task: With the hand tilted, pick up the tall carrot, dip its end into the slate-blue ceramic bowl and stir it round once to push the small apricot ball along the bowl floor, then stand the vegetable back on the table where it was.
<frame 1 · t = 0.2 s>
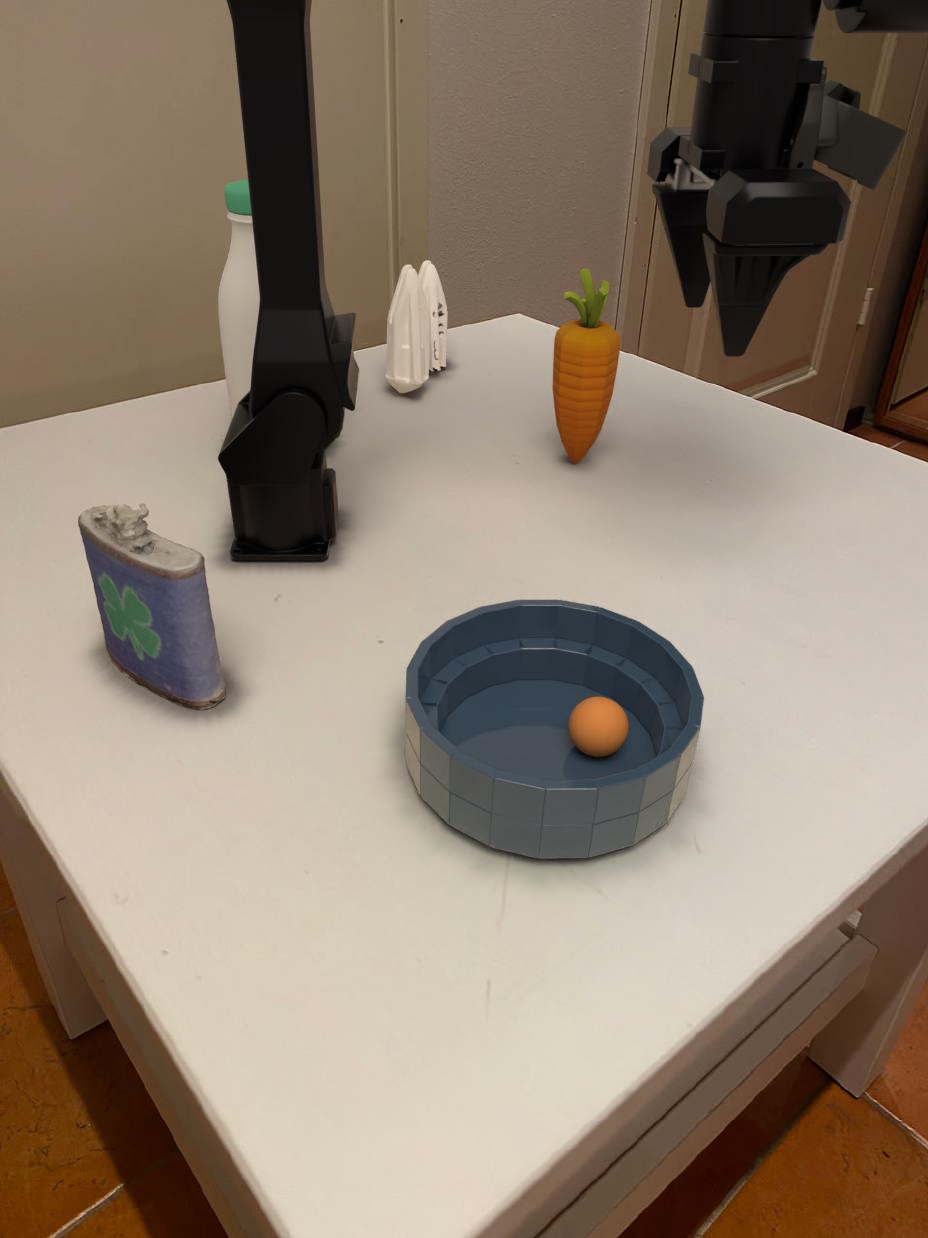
hand: (712, 329, 58), 15 cm above the table, tool pointing down, fingers open, 9 cm apart
carrot: (575, 465, 76), on the table
flask: (163, 675, 53), on the table
shaker set: (416, 381, 90), on the table
milk bottle: (282, 447, 77), on the table
bowl: (545, 757, 48), on the table
ball: (598, 726, 47), point 2 cm above the table, touching bowl
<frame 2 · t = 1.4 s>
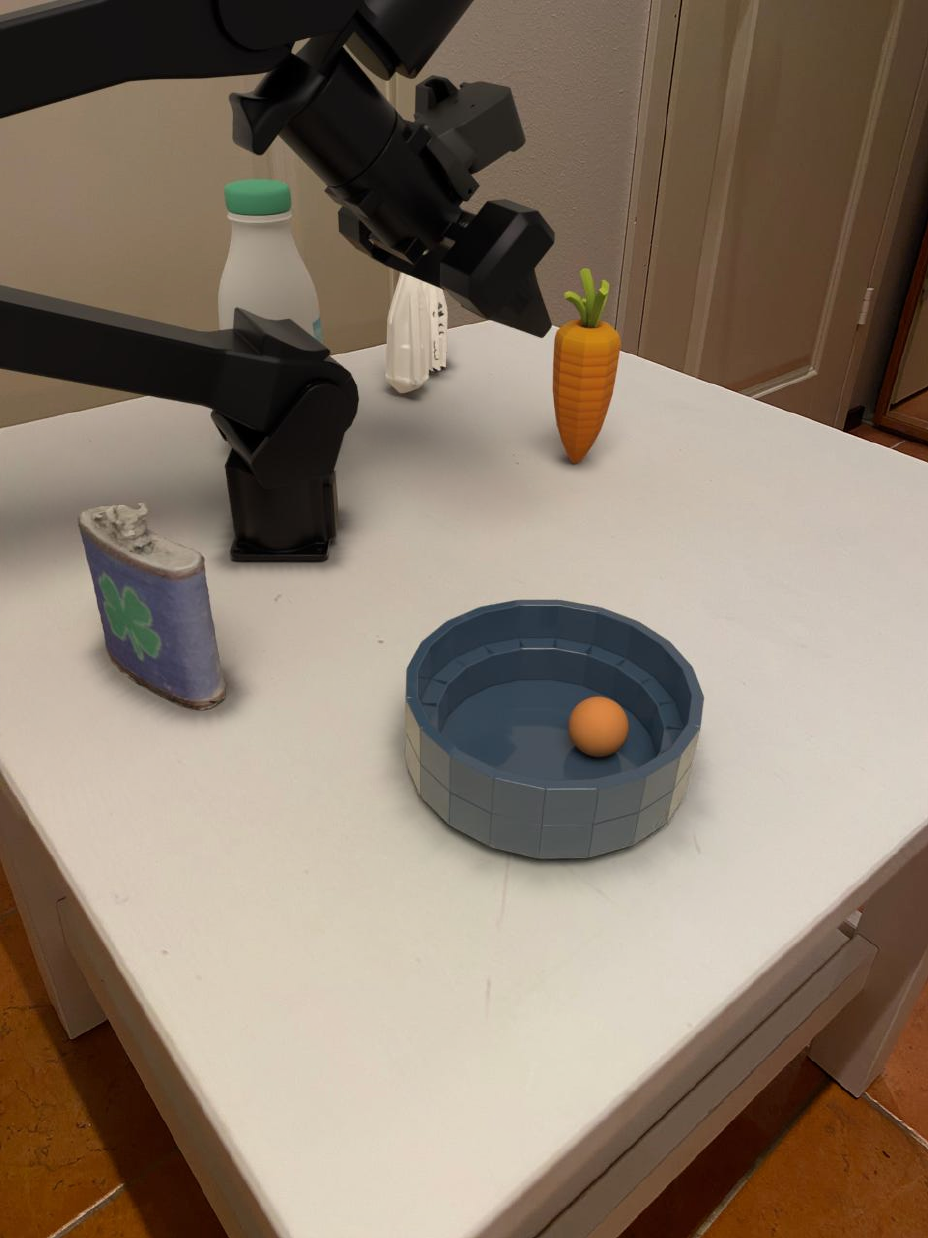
hand: (508, 312, 65), 13 cm above the table, tool tilted 45°, fingers open, 9 cm apart
nothing on the table moved.
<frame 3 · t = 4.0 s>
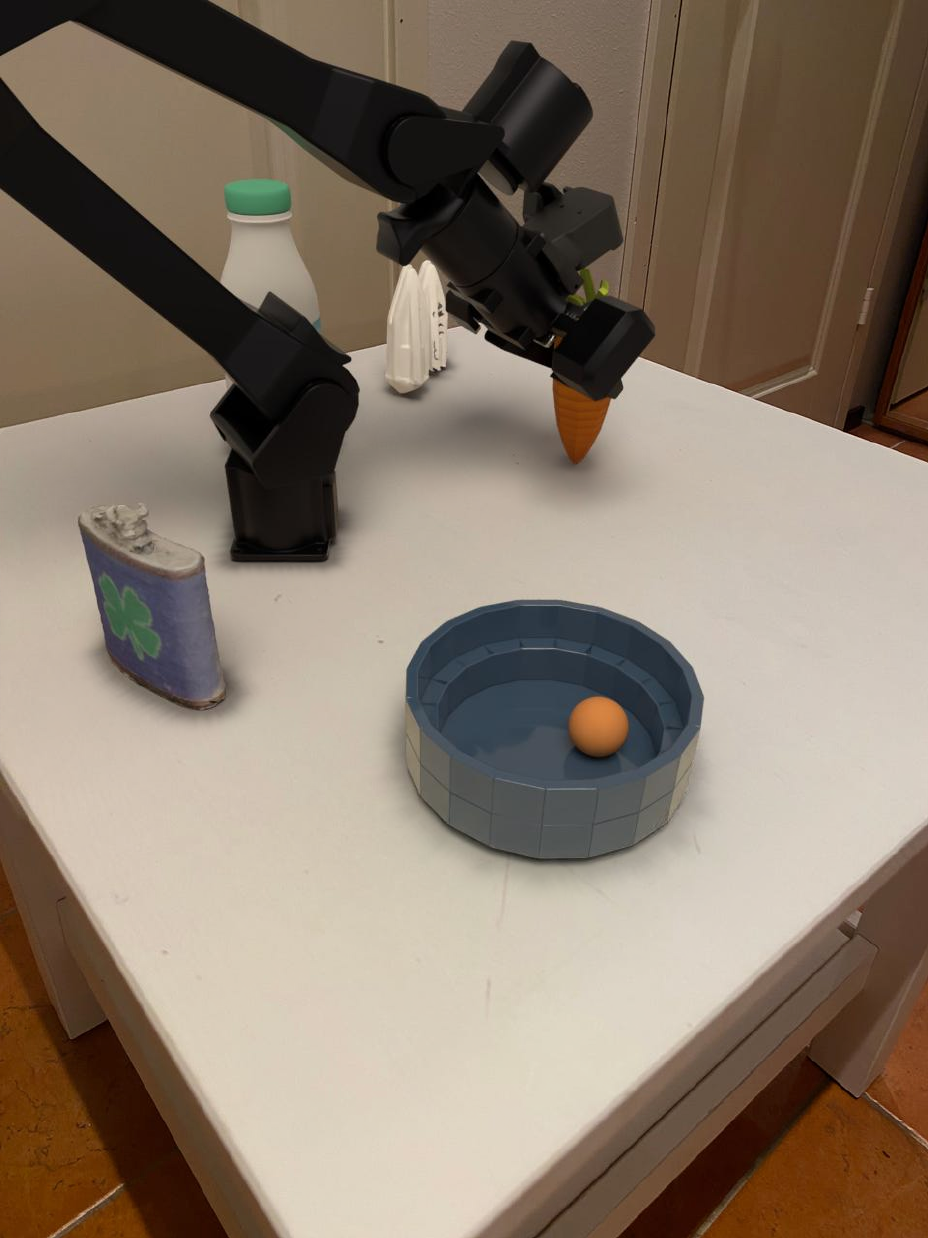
hand: (597, 382, 72), 7 cm above the table, tool tilted 45°, fingers closed on carrot, 5 cm apart
carrot: (575, 465, 76), on the table, touching gripper
everything else where it was.
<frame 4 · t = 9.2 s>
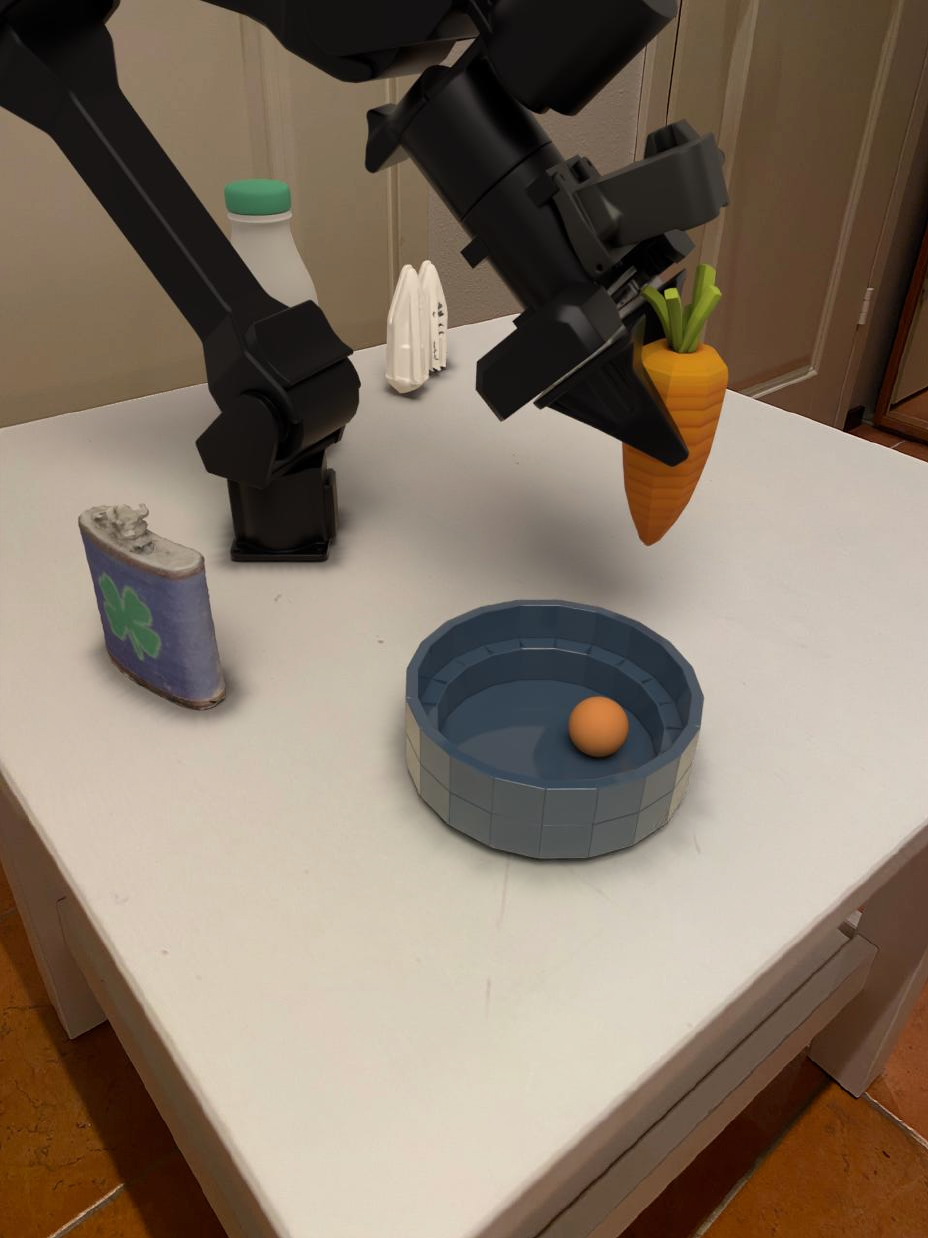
hand: (692, 441, 48), 13 cm above the table, tool tilted 45°, fingers closed on carrot, 5 cm apart
carrot: (647, 547, 52), point 6 cm above the table, touching gripper
everything else where it was.
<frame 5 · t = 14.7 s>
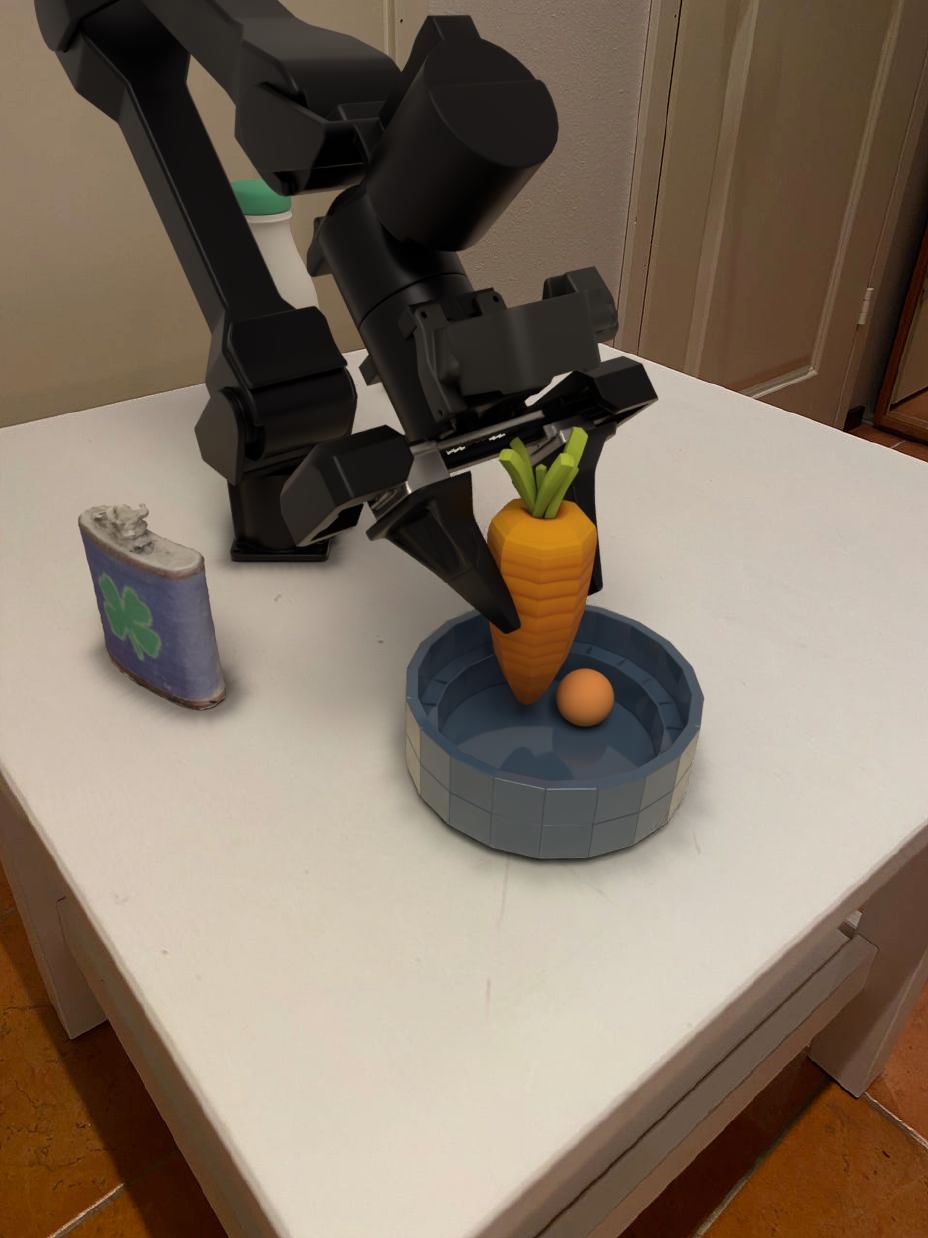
hand: (555, 611, 43), 9 cm above the table, tool tilted 45°, fingers closed on carrot, 5 cm apart
carrot: (526, 706, 48), point 2 cm above the table, touching gripper
ball: (585, 697, 49), point 2 cm above the table, tilted 74°, touching bowl
everything else where it was.
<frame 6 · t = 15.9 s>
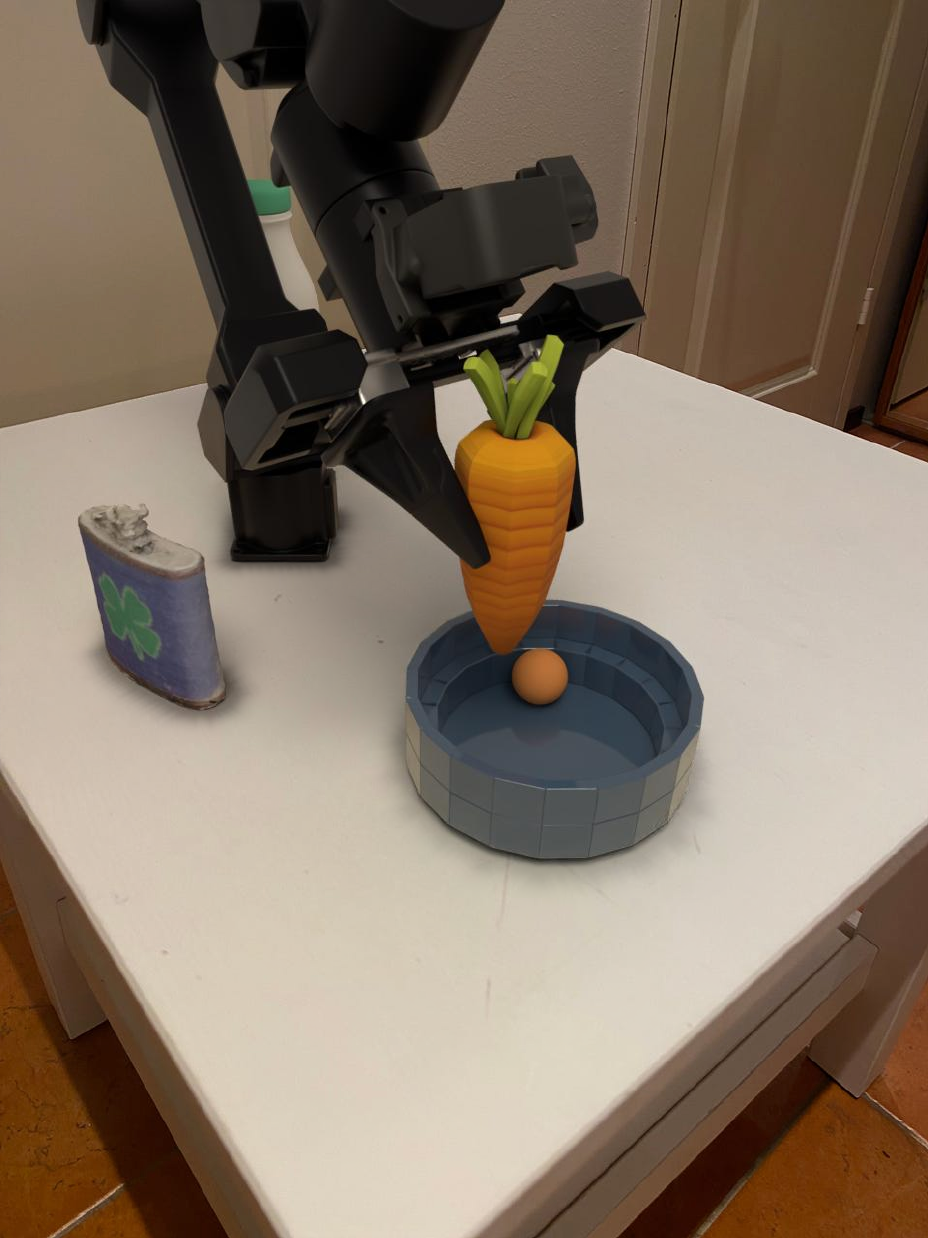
hand: (530, 546, 39), 13 cm above the table, tool tilted 45°, fingers closed on carrot, 5 cm apart
carrot: (501, 657, 44), point 6 cm above the table, touching gripper
ball: (539, 676, 50), point 2 cm above the table, tilted 121°, touching bowl
everything else where it was.
when the fingers open (7 cm above the table, at t = 24.1 s): carrot stays where it is, on the table.
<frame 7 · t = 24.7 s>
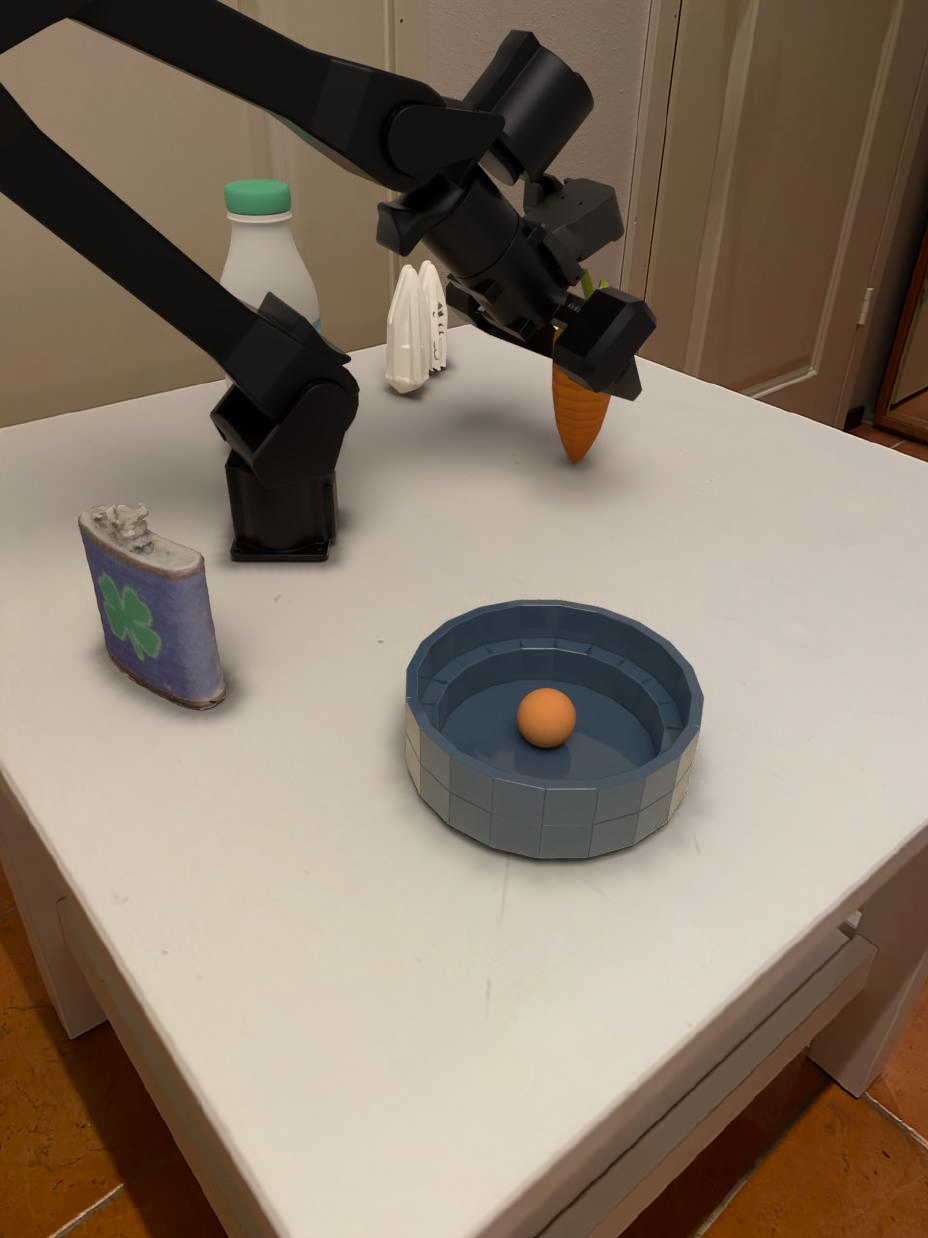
hand: (598, 375, 72), 7 cm above the table, tool tilted 45°, fingers open, 9 cm apart
carrot: (574, 465, 76), on the table
ball: (546, 717, 47), point 2 cm above the table, tilted 26°, touching bowl
everything else where it was.
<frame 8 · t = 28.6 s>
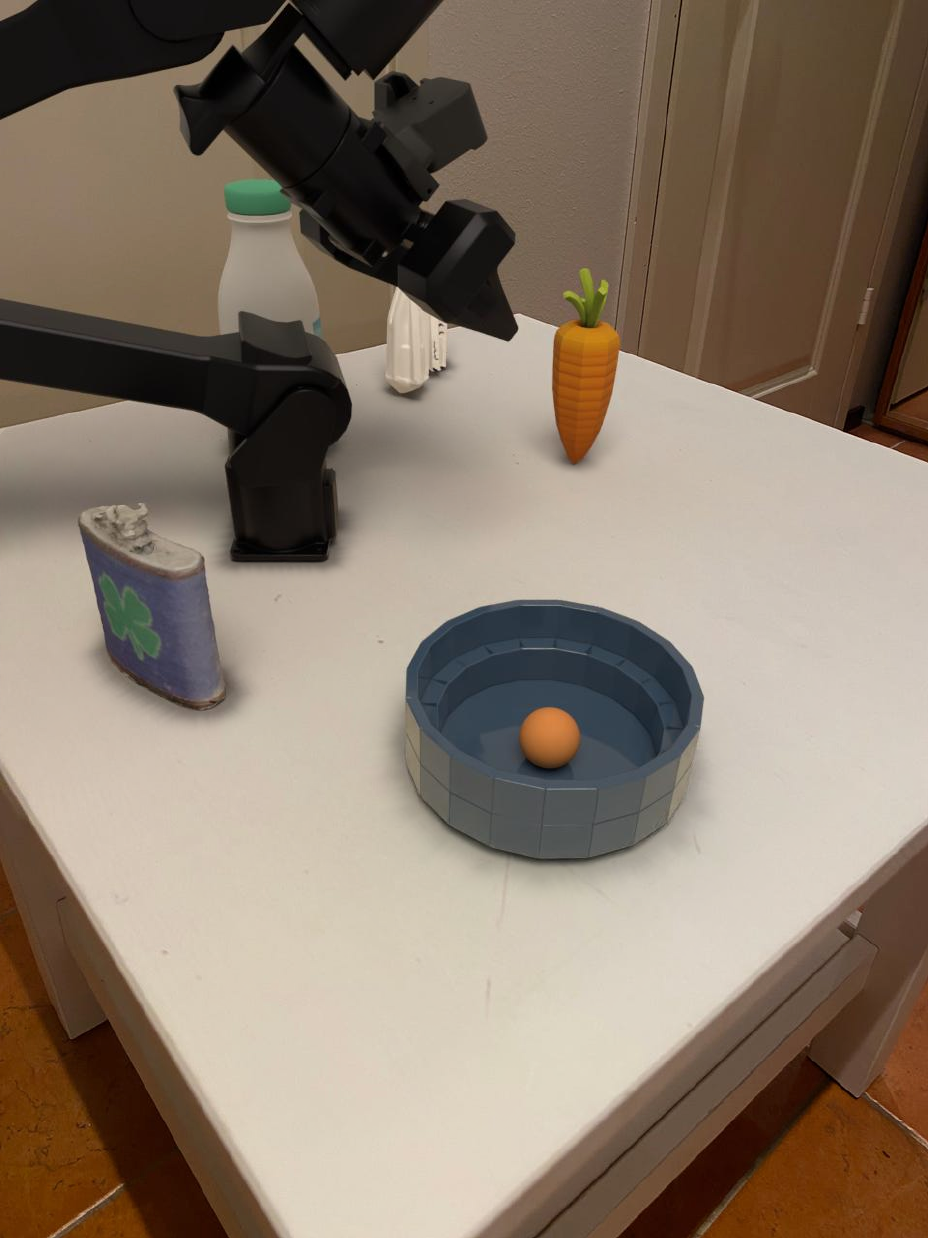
hand: (475, 314, 63), 14 cm above the table, tool tilted 45°, fingers open, 9 cm apart
ball: (549, 737, 46), point 2 cm above the table, tilted 62°, touching bowl
everything else where it was.
at the end: ball moved 2.7 cm from its start; ball inside the target area in the bowl (0.8 cm from its centre), point 2.1 cm above the bowl's base; carrot tilted 0° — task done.
